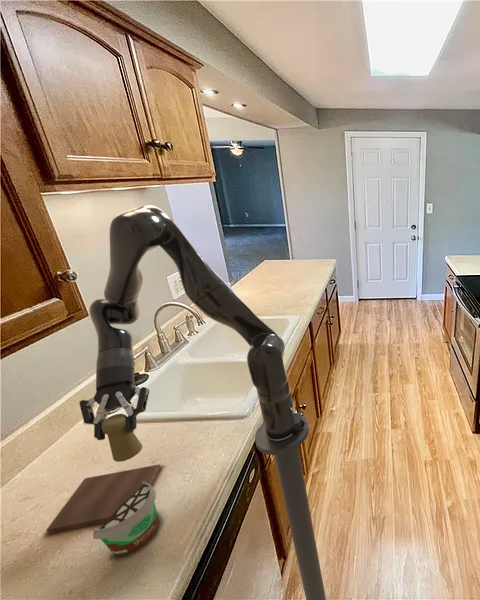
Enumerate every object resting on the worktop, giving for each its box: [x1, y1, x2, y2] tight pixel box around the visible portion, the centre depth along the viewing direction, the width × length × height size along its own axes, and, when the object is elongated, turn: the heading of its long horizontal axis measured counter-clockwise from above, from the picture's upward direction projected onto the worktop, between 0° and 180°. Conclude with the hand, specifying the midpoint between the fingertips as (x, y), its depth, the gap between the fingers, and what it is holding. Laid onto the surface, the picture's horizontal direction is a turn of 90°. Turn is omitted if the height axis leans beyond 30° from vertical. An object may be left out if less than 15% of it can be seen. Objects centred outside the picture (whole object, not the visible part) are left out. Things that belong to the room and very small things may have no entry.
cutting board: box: [46, 464, 162, 535], centre depth 84 cm, size 18×14×2 cm
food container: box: [92, 481, 160, 557], centre depth 73 cm, size 12×6×10 cm, turn 170°
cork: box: [101, 413, 143, 463], centre depth 82 cm, size 6×6×11 cm
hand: (116, 435), depth 80 cm, fingers closed on cork, 5 cm apart
